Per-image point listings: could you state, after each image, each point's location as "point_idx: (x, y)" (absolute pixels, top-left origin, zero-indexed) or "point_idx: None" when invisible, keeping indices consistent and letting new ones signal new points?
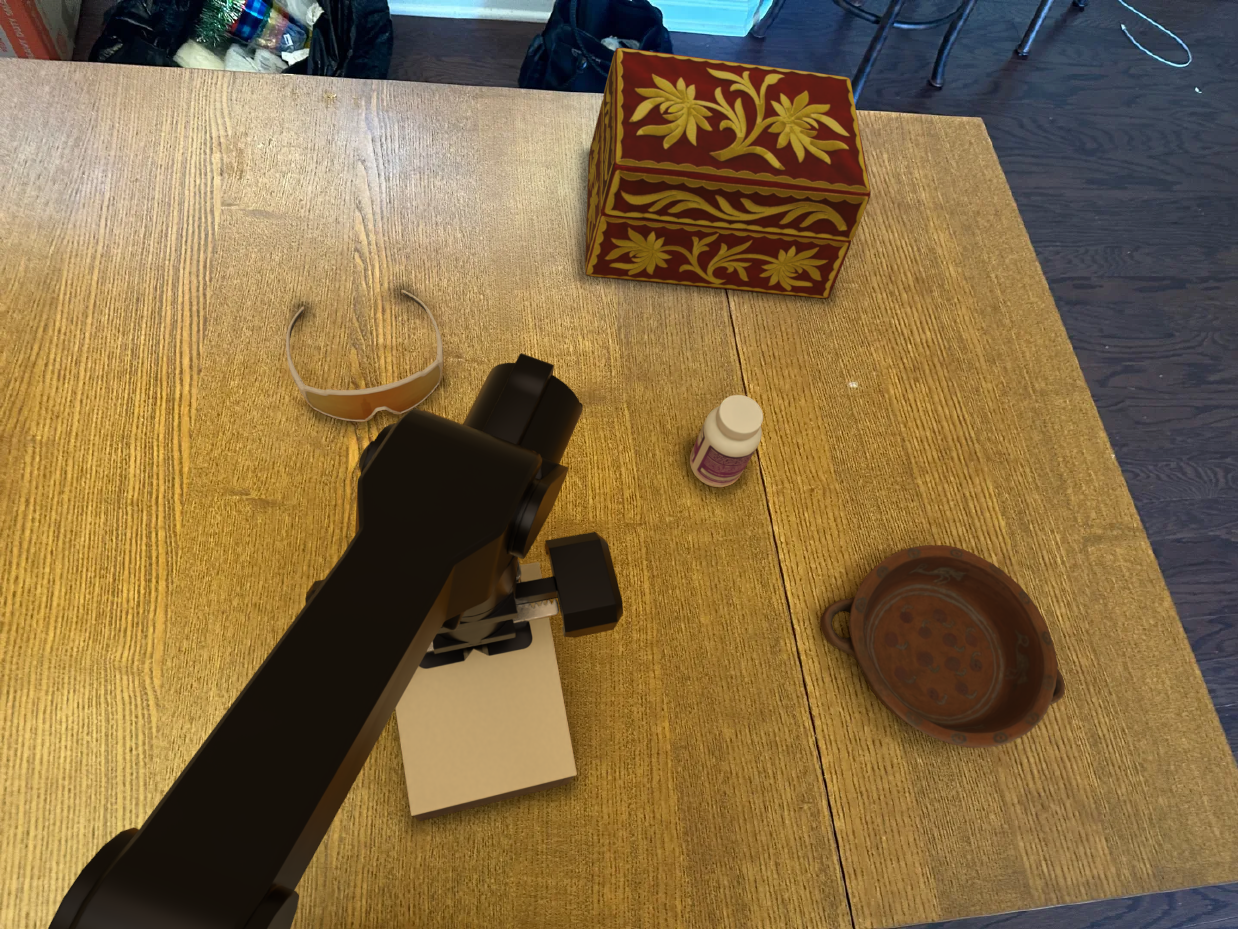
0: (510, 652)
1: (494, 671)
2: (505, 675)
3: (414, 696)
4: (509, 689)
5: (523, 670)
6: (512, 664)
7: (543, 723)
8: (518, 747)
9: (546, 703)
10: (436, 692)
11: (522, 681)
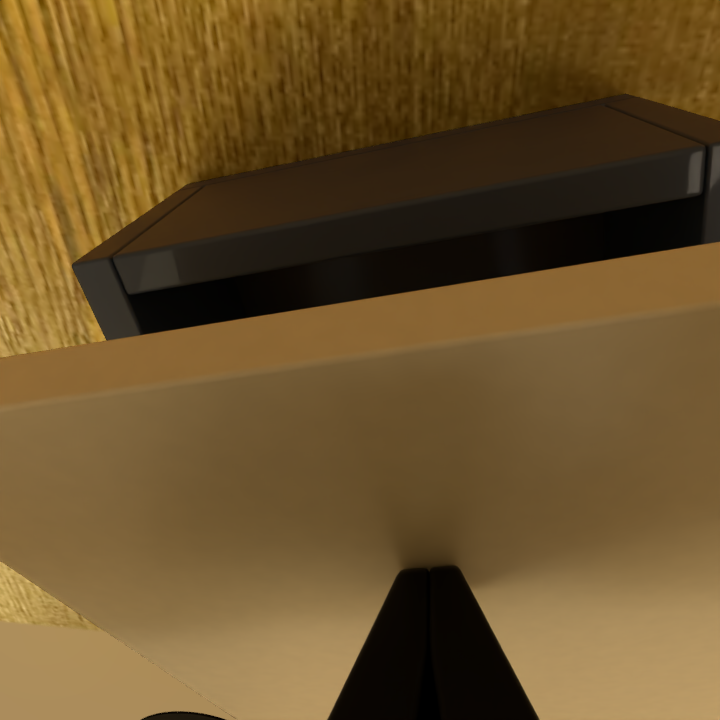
0: (611, 603)
1: (523, 635)
2: (566, 641)
3: (220, 664)
4: (570, 658)
5: (648, 636)
6: (606, 621)
7: (661, 697)
8: (561, 713)
9: (696, 678)
10: (296, 657)
11: (629, 648)
